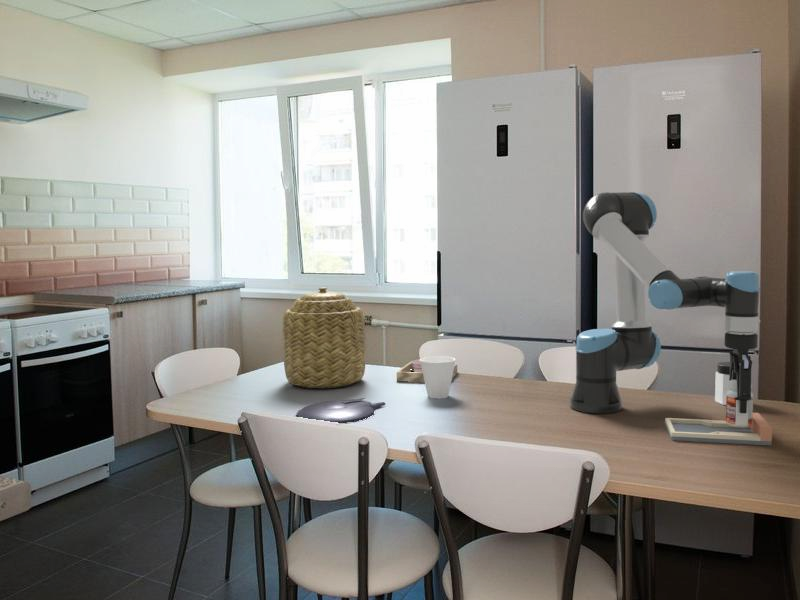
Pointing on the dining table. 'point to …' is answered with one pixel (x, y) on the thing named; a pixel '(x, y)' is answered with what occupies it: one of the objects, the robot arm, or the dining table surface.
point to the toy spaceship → (340, 410)
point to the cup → (437, 375)
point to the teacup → (416, 365)
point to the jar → (722, 382)
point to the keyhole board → (720, 431)
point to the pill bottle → (732, 406)
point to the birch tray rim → (414, 374)
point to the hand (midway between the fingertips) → (738, 421)
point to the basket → (324, 341)
